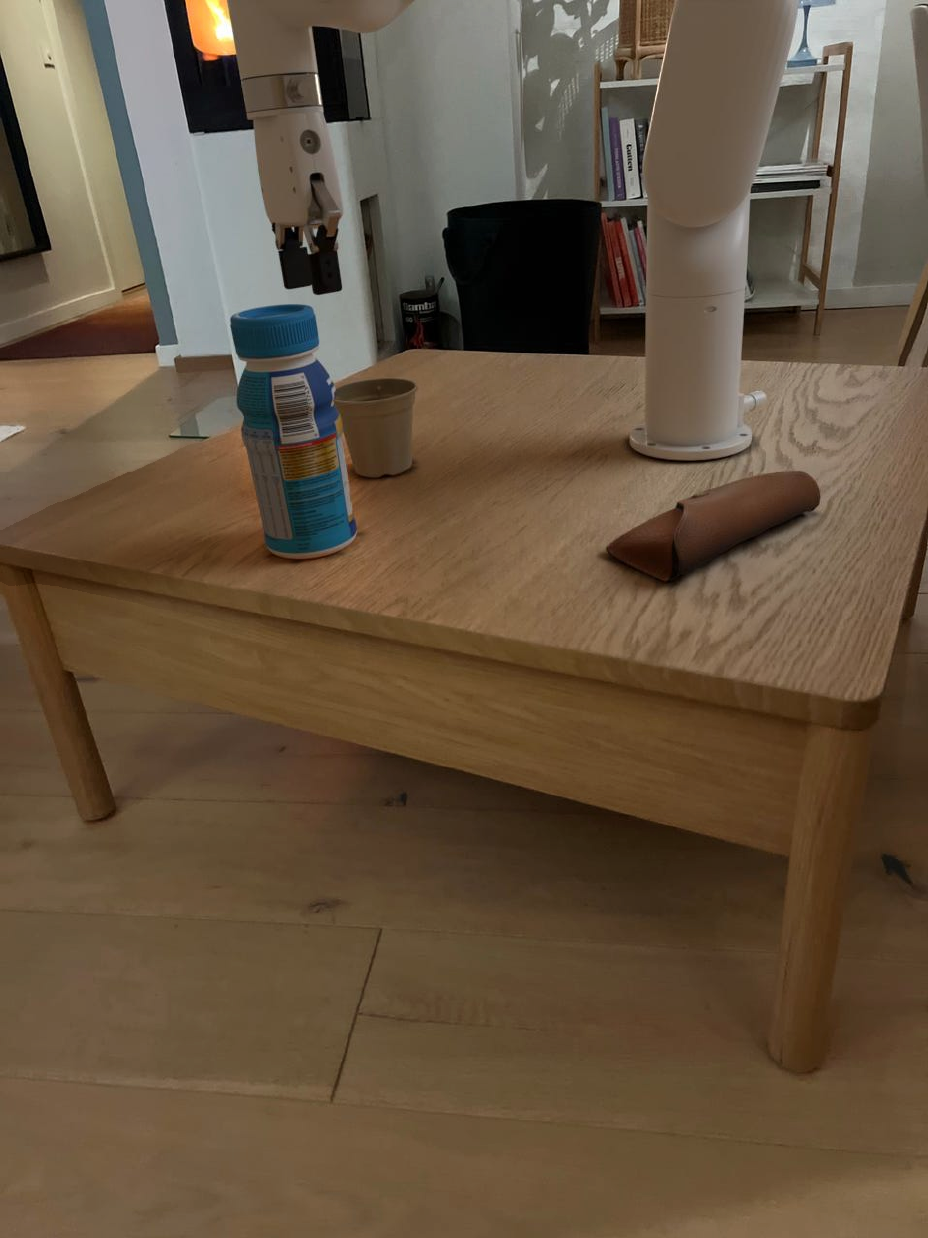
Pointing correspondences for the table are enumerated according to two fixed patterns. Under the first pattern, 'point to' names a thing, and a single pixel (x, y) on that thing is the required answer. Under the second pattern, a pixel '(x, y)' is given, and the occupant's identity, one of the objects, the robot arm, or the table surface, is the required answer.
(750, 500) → the sunglasses case
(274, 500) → the beverage bottle
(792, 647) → the table surface
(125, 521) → the table surface
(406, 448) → the flower pot
